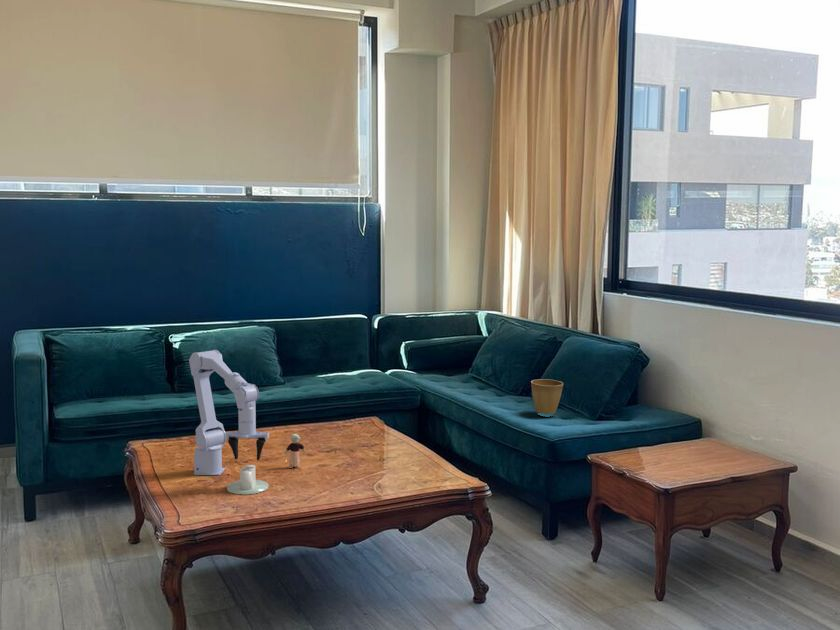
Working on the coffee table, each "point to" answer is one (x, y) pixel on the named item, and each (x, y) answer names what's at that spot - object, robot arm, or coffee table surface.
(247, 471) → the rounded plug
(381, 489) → the coffee table surface
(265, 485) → the sage plate
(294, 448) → the grandmother figurine
